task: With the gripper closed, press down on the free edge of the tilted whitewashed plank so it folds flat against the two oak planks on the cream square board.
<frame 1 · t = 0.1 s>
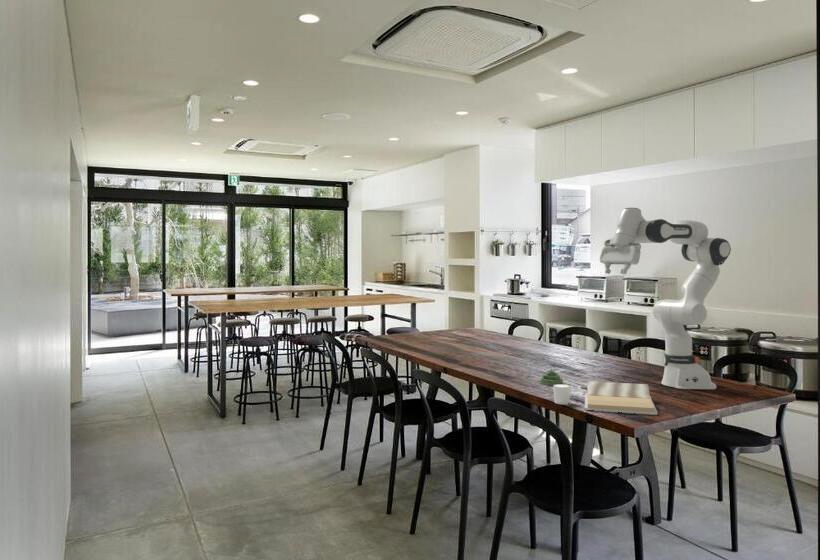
hand: (615, 273, 248), 52 cm above the table, tool tilted 20°, fingers open, 8 cm apart
cream square board: (618, 404, 231), on the table
tilted plank: (617, 391, 238), point 4 cm above the table, hinge at 25.0°
decorative artifact: (551, 384, 270), on the table
white cylinder: (561, 403, 235), on the table
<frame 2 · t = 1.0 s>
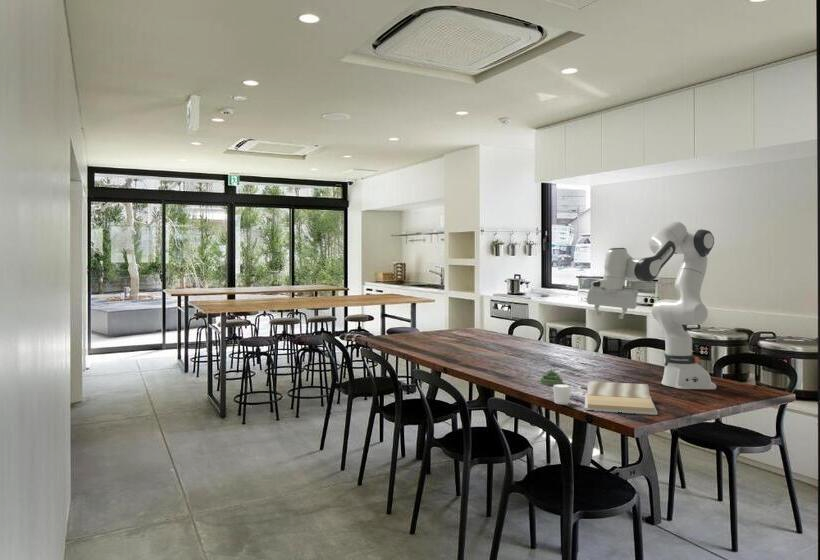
hand: (609, 317, 244), 34 cm above the table, tool pointing down, fingers open, 8 cm apart
nothing on the table moved.
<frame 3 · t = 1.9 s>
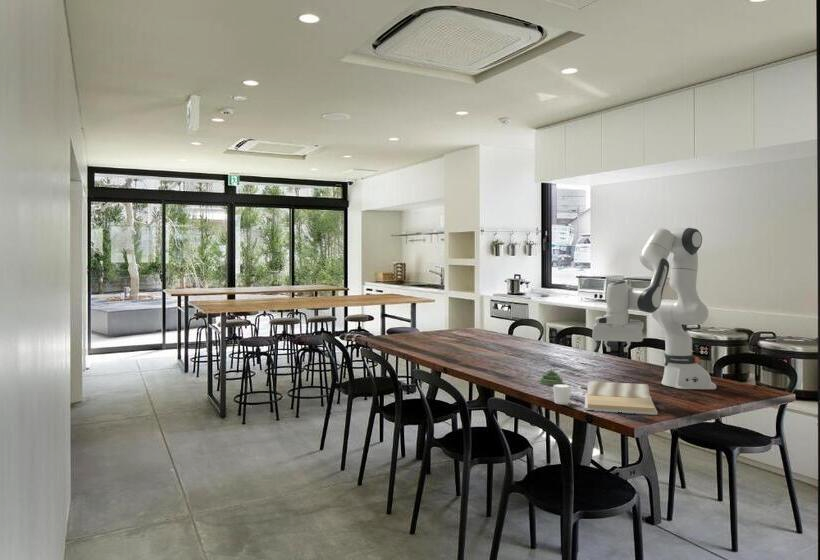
hand: (617, 351, 243), 19 cm above the table, tool pointing down, fingers open, 5 cm apart
nothing on the table moved.
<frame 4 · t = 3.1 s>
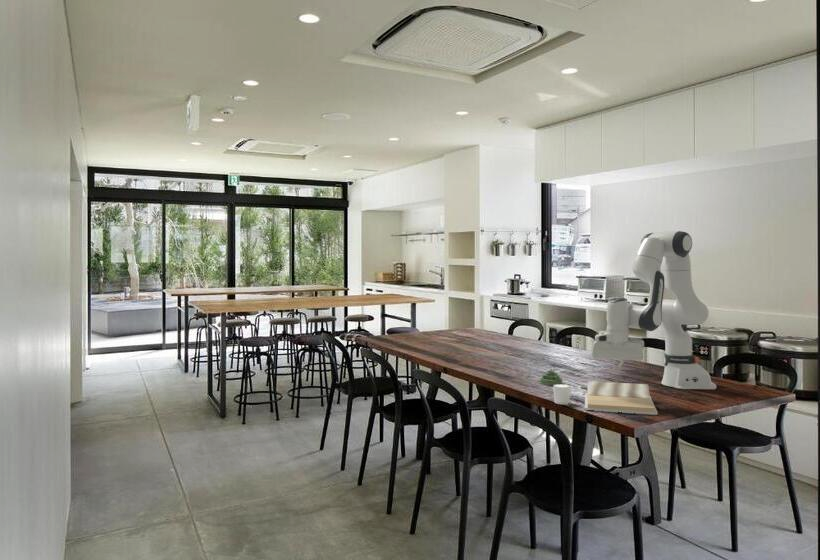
hand: (616, 369, 240), 12 cm above the table, tool pointing down, fingers closed
nothing on the table moved.
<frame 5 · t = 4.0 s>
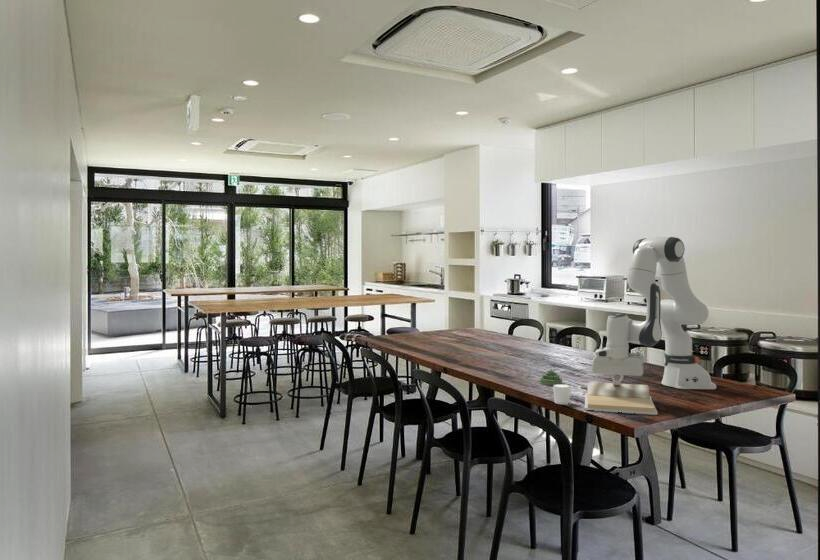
hand: (616, 385, 240), 6 cm above the table, tool pointing down, fingers closed, pressing on tilted plank
tilted plank: (617, 391, 238), point 4 cm above the table, hinge at 22.8°, touching gripper
everything else where it was.
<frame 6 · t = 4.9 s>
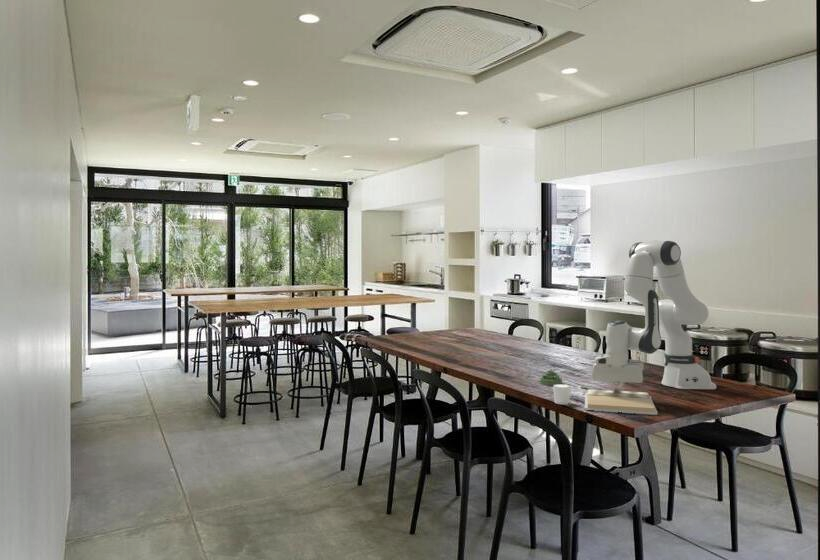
hand: (616, 392, 241), 3 cm above the table, tool pointing down, fingers closed, pressing on tilted plank
tilted plank: (617, 395, 238), point 2 cm above the table, hinge at 0.3°, touching gripper
everything else where it was.
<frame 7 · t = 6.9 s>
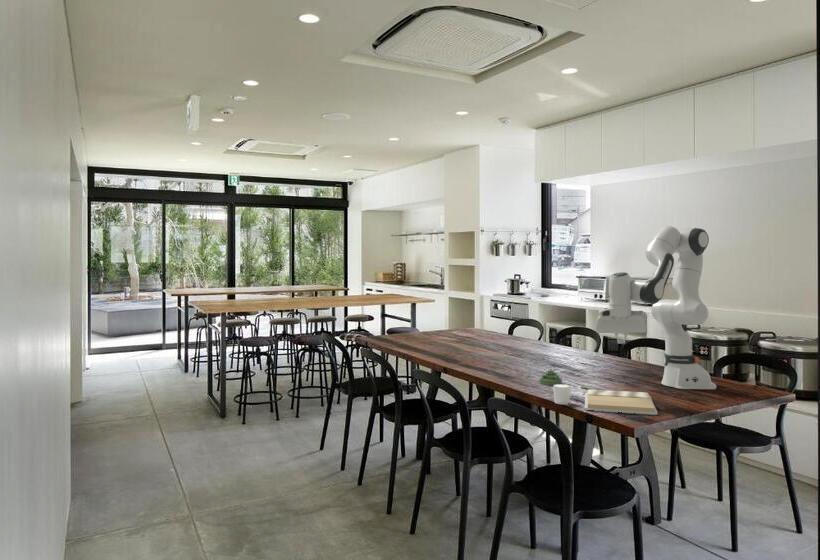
hand: (621, 343, 245), 22 cm above the table, tool pointing down, fingers closed
tilted plank: (617, 395, 238), point 2 cm above the table, hinge at 0.2°
everything else where it was.
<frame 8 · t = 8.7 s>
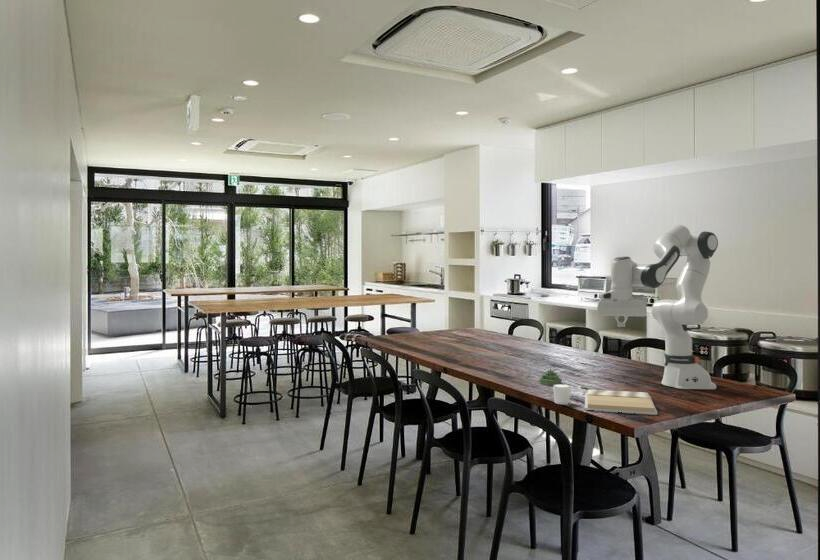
hand: (621, 326, 248), 29 cm above the table, tool pointing down, fingers closed
nothing on the table moved.
at the end: tilted plank at +0° (first picture: +25°); white cylinder moved 0.2 cm from its start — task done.
